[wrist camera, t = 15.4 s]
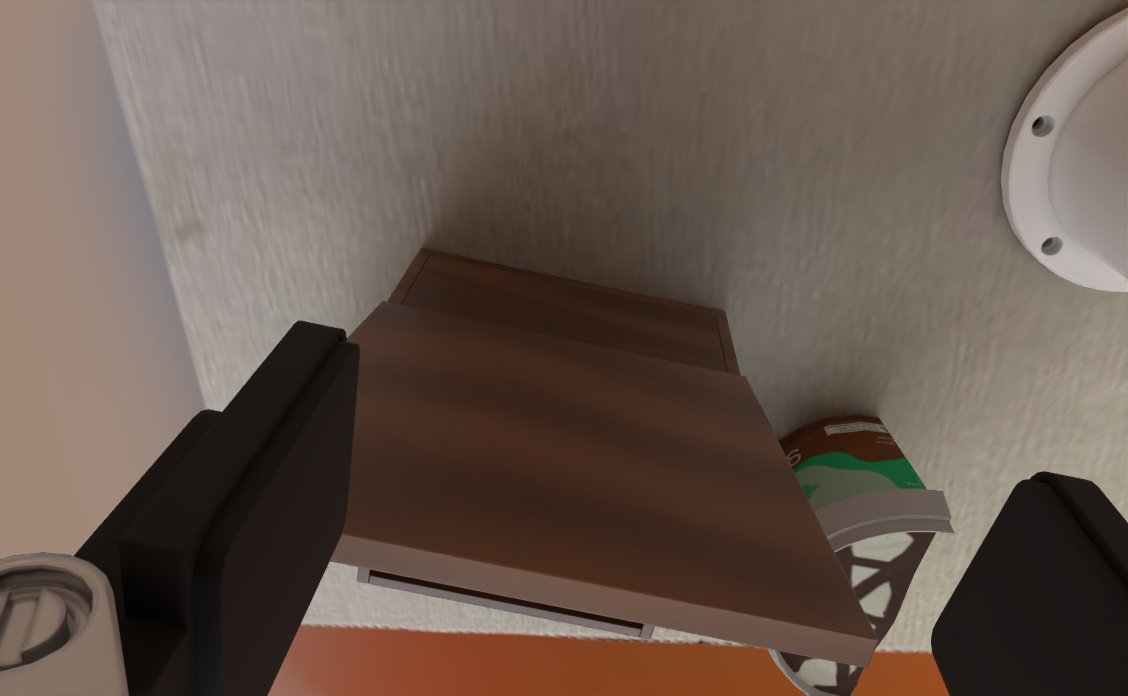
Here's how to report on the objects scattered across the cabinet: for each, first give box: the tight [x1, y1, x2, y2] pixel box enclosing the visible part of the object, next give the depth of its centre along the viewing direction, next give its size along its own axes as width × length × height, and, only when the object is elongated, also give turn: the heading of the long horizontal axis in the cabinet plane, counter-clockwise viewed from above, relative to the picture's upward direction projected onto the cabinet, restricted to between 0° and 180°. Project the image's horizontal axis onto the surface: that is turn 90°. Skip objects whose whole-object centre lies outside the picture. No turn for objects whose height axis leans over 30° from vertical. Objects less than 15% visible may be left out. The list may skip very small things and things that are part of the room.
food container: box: [768, 415, 954, 696], centre depth 40 cm, size 12×6×10 cm, turn 169°
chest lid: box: [330, 301, 878, 668], centre depth 25 cm, size 17×15×1 cm
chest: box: [357, 249, 740, 639], centre depth 40 cm, size 16×15×7 cm
